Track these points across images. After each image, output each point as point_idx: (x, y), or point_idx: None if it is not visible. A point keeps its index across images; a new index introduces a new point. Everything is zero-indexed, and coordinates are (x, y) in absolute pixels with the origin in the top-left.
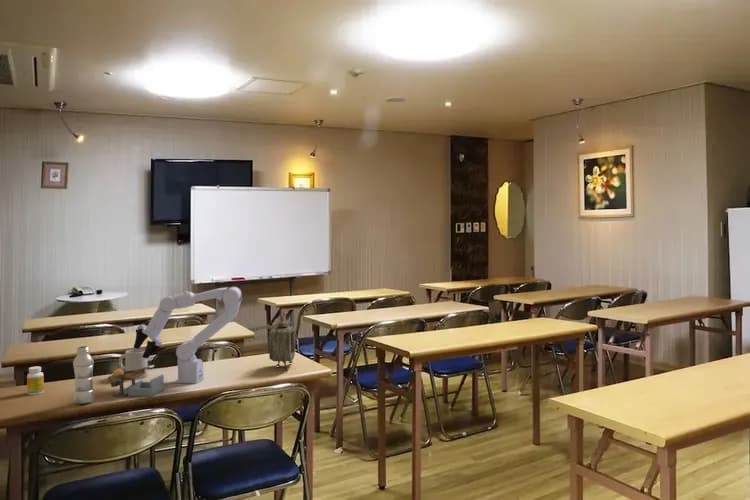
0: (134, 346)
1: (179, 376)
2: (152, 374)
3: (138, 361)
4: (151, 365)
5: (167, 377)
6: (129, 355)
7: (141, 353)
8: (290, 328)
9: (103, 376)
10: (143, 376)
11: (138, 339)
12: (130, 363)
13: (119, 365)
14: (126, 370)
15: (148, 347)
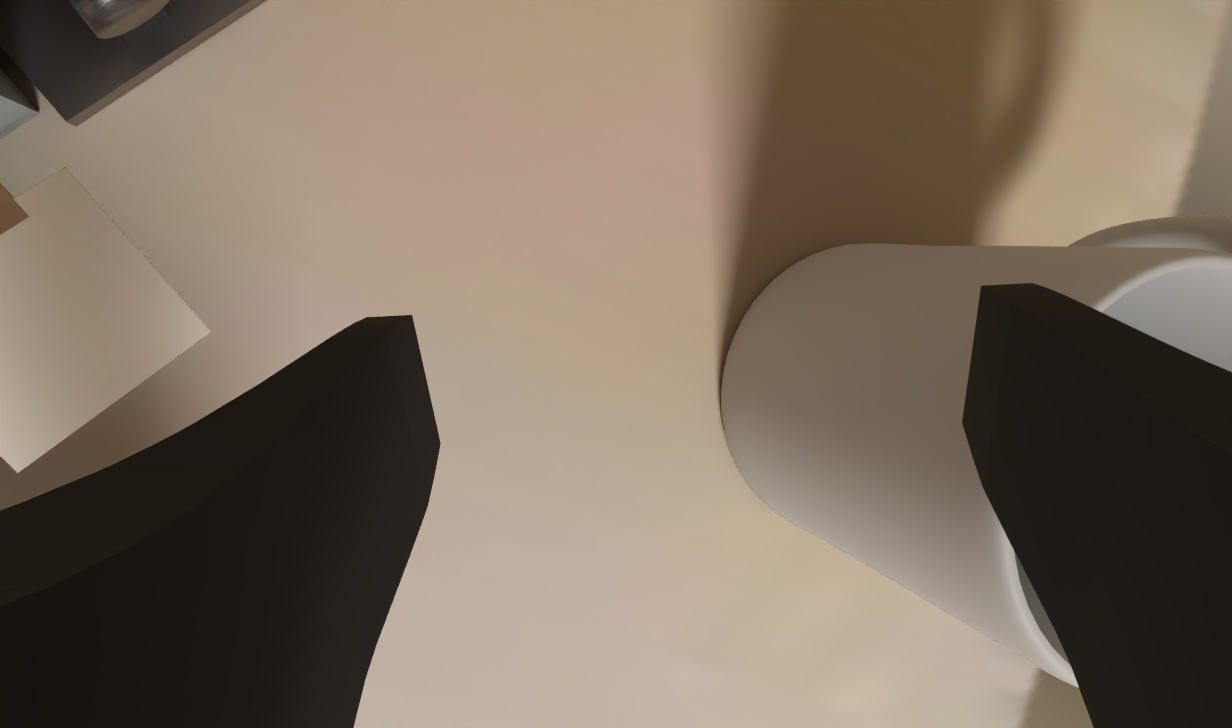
0: (1012, 295)
1: None
2: (814, 593)
3: (876, 410)
4: (31, 402)
5: (500, 707)
6: (1067, 277)
7: (973, 516)
8: None
9: (1170, 88)
10: (729, 434)
11: (1150, 472)
12: (934, 281)
13: (1147, 221)
14: (935, 245)
15: (6, 514)
